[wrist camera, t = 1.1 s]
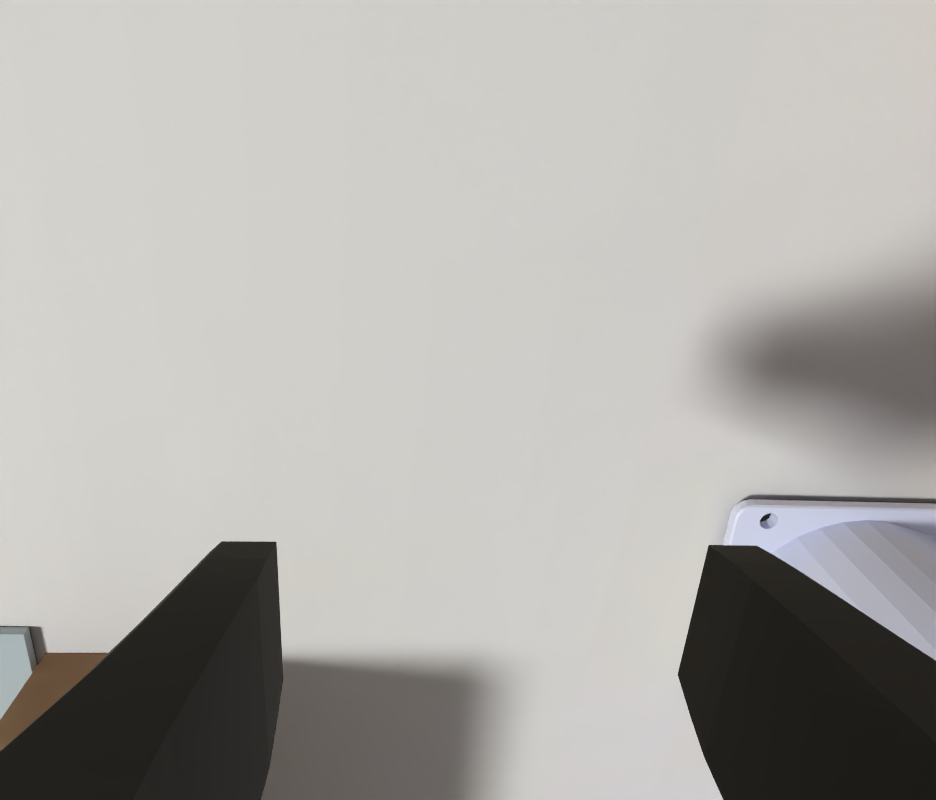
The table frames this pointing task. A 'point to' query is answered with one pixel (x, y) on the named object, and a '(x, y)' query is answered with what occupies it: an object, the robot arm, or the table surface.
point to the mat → (14, 663)
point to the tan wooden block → (45, 689)
